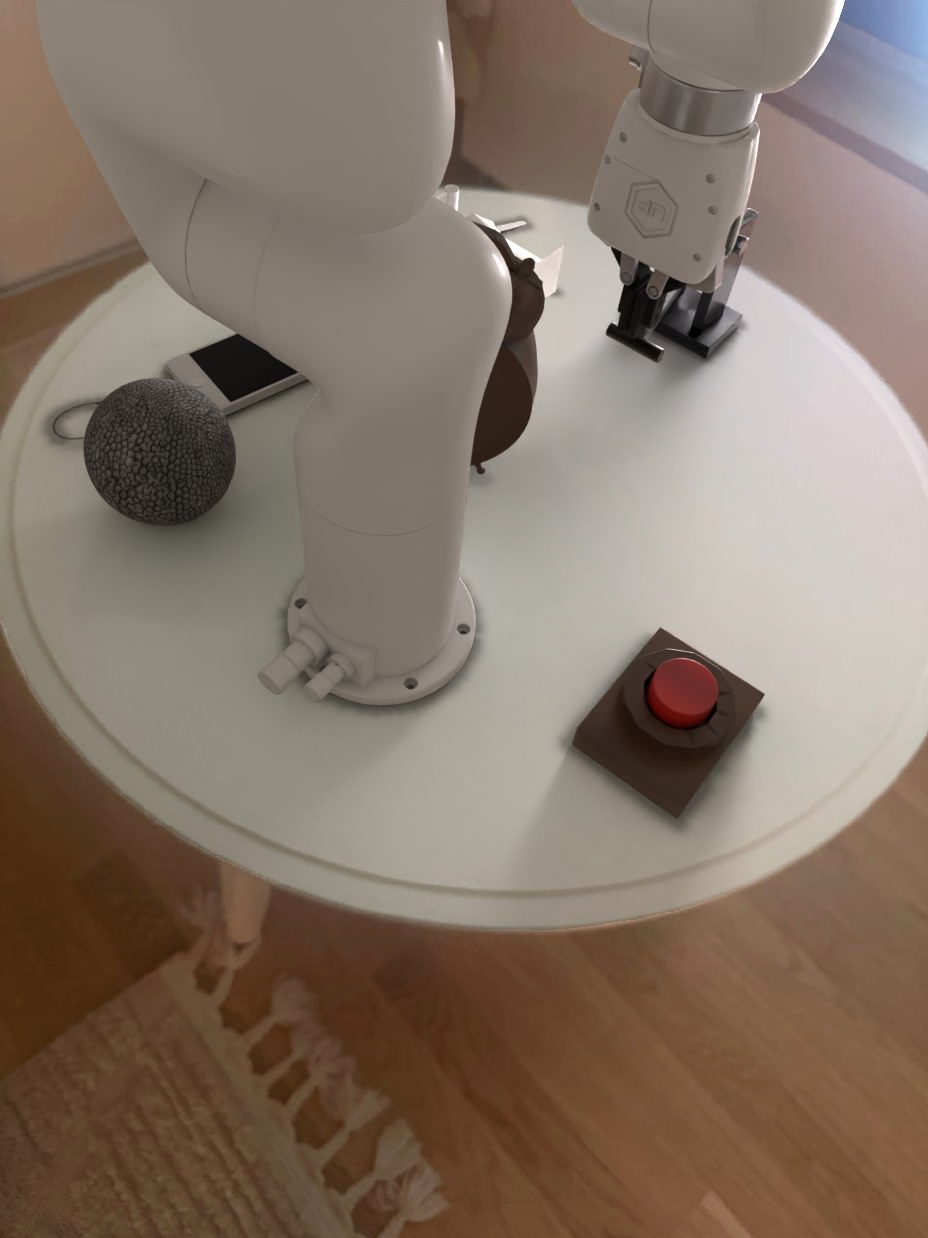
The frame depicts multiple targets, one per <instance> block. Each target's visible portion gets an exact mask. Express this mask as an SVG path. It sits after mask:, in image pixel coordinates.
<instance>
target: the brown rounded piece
mask: <svg viewBox="0 0 928 1238" xmlns="http://www.w3.org/2000/svg"><path fill="white" fill-rule="evenodd" d="M472 222H473V221H472ZM473 223H474V224H475V225H476V226H478V227H479V228H480V229H481V230H482V231H483V232H484V233H485V234H486V235H487V236H488V237H489V238H490V240H491V241H492V242H493V243H494V244H495V246H496V247H497V249H498V250H499V251H500V253H501V255H502V257H503V259H504V261H505V263H506V265H507V268H508V271H509V274H510V278H511V284H512V304H511V309H510V315H509V320H508V324H507V327H506V331H505V334H504V338H503V341H502V343H501V346H500V349H499V351H498V354H497V357H496V360H495V362H494V365H493V368H492V371H491V373H490V376H489V379H488V382H487V385H486V388H485V391H484V395H483V398H482V402H481V406H480V409H479V414H478V419H477V424H476V429H475V434H474V441H473V448H472V455H471V463H470V467H472V466H474V467H475V468H476V473H477V474H478V475H479V476H480V475H484V474H485V473H486V468H485V467H483V466H482V463H485V462H488V461H490V460H492V459H494V458H496V457H498V456H500V455H501V454H503V453H504V452H505V451H508V449H510V448H511V447H512V446H514V444H515V443H516V442H517V441H518V440H519V439H520V437H521V436H522V435H523V434H524V432H525V430H526V428H527V426H528V424H529V422H530V419H531V416H532V412H533V405H534V401H535V397H536V393H537V388H538V376H539V370H538V369H539V367H538V351H537V340H536V335H535V331H534V329H535V328H536V326H537V324H538V323H539V322H540V319H541V318H542V316H543V313H544V310H545V304H546V303H545V302H546V299H545V295H544V290H543V286H542V285H543V281H541V280H540V279H539V277H538V275H537V274H536V273H535V272H534V268H535V261H534V259H533V258H530V257H529V258H525V259H524V260H521V259H520V258H518V257H516V256H515V255H514V253H513V252H512V250H511V248H510V246H509V244H508V242H507V241H506V239H507V238H506V237H505V236H504V235H503V234H501V232H500V233H499V232H498V231H497V230H494V229H492V228H489V227H487V226H484V225H481V224H479V223H476V222H473ZM505 238H506V239H505Z"/></svg>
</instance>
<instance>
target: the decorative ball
mask: <svg viewBox="0 0 928 1238" xmlns="http://www.w3.org/2000/svg"><path fill="white" fill-rule="evenodd" d="M83 437H84V438H83V460H84V465H85V469H86V472H87V475H88V477H89V480H90V482H91V484H92V486H93V487H94V489H95V491H96V492H97V493H98V495H99V496H100V497H101V498H102V500H104V502H105V503H106V504H107V505H109V506H110V508H112V509H114V511H116V512H118V514H120V515H122V516H124V517H126V518H128V519H130V520H132V521H134V522H138V523H141V524H145V525H149V526H157V527H171V526H172V527H173V526H179V525H183V524H187V523H190V522H192V521H195V520H197V519H199V518H200V517H202V516H203V515H205V514H207V513H208V512H209V511H211V510H212V509H213V508H214V507H215V506H216V505H217V504H218V503H219V502H220V501H221V500H222V498H223V497H224V495H225V494H226V492H227V491H228V489H229V487H230V485H231V482H232V481H233V477H234V474H235V470H236V463H237V448H236V443H235V437H234V434H233V431H232V427H231V425H230V423H229V421H228V419H227V417H226V416H224V415H223V413H222V411H221V410H220V409H219V408H218V406H217V405H216V404H215V403H214V402H213V401H212V400H211V399H210V398H208V397H207V396H206V395H205V394H203V393H202V392H200V391H199V390H197V389H195V388H194V387H192V386H190V385H187V384H185V383H182V382H179V381H176V380H174V379H170V378H163V377H149V378H148V377H147V378H141V379H136V380H133V381H130V382H128V383H125V384H123V385H120V386H119V387H118V388H115V389H113V391H111V392H110V393H108V394H107V395H106V396H105V397H104V398H103V399H102V400H101V403H99V405H98V404H97V406H96V407H95V409H94V411H93V412H92V413H91V416H90V418H89V420H88V422H87V425H86V428H85V432H84V436H83Z"/></svg>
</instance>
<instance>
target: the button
mask: <svg viewBox="0 0 928 1238" xmlns="http://www.w3.org/2000/svg"><path fill="white" fill-rule="evenodd" d="M717 697H718V686H717V683H716V680H715V678H714V676H713V675H712V673H711V672H710V671H709V670H708V669H707V668H706V667H704V666H703V665H702V664H700V663H698V662H696V661H693V660H690V659H685V658H676V659H671V660H668V661H666V662H664V663H663V664H661V665H660V666H659V667H658V668H657V670H656V671H655V673H654V676H653V678H652V680H651V682H650V684H649V687H648V690H647V700H648V704H649V706H650V709H651V710H652V712H653V713H654V714H655V716H656V717H658V718H659V719H660V720H661V721H663V722H664V723H666V724H668V725H670V726H673V727H678V728H690V727H694V726H696V725H699V724H700V723H702V722H703V721H704V720H705V719H706V718H707V716H708V715H709V713H710V711H711V709H712V708H713V706H714V704H715V703H716V700H717Z"/></svg>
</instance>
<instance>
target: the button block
mask: <svg viewBox="0 0 928 1238" xmlns="http://www.w3.org/2000/svg"><path fill="white" fill-rule="evenodd" d="M676 658H685V659H690V660H693V661H696V662H698V663H700V664H702V665H703V666H704V667H706V668H707V669H708V670H709V671H710V672H711V673H712V675H713V676H714V678H715V680H716V683H717V686H718V697H717V700H716V703H715V704H714V706H713V708H712V709H711V711H710V713H709V715H708V716H707V718H706V719H705V720H704V721H703V722H702V723H700V724H699V725H696V726H694V727H690V728H678V727H673V726H670V725H668V724H666V723H664V722H663V721H661V720H660V719H659V718H658V717H656V716H655V714H654V713H653V712H652V710H651V709H650V706H649V704H648V700H647V690H648V687H649V684H650V682H651V680H652V678H653V676H654V673H655V671H656V670H657V668H658V667H659V666H660V665H661V664H663V663H664V662H666V661H668V660H671V659H676ZM765 695H766V694H765V692H762V691H761V690H760V689H758V688H757V687H755V686H753V685H752V684H750V683H748V682H747V681H746V680H744V679H743V678H741V677H740V676H738V675H737V674H735V673H733V672H731V671H730V670H729V669H728V668H726V667H724V666H723V665H721V664H720V663H718V662H716V661H715V660H713V659H712V658H710V657H709V656H707V655H705V654H704V653H702V652H701V651H699V650H698V649H696V648H695V647H694V646H691V645H690V644H688V643H687V642H685V641H684V640H682V639H681V638H679V637H677V636H675V635H674V634H673V633H671V632H670V631H668V630H667V629H665V628H663V627H662V626H660V627H659V628H658V629H657V630H656V631H655V633H654V634H652V636H651V637H650V639H649V640H648V641H647V642H646V644H645V645H644V646H643V648H642V649H641V650H640V651H639V652H638V653H637V655H636V656H635V657H634V658H633V660H631V662H630V663H629V664H628V665H627V667H626V668H625V669H624V670H623V672H621V674H620V675H619V676H618V678H617V679H616V680H615V681H614V683H613V684H612V685H611V686H610V687H609V689H608V690H607V691H606V692H605V694H604V695H603V696H602V697H601V699H600V700H598V702H597V703H596V704H595V706H594V707H593V708H592V709H591V710H590V712H589V713H588V714H587V715H586V716H585V718H584V719H583V720H582V722H581V723H580V724H579V725H578V726H577V727H576V730H575V733H574V736H573V739H572V742H571V745H572V746H574V747H575V748H577V749H578V750H579V751H581V752H582V753H583V754H585V755H586V756H588V757H589V758H590V759H592V760H594V761H595V762H596V763H597V764H599V765H600V766H602V767H603V768H605V769H606V770H607V771H608V772H611V774H613V775H615V776H616V777H617V778H619V779H620V780H621V781H623V782H625V783H626V784H627V785H629V786H630V787H632V788H633V789H634V790H636V791H638V793H640V794H641V795H642V796H645V798H647V799H649V800H650V801H651V802H653V803H654V804H655V805H657V806H658V807H659V808H661V809H662V810H664V811H665V812H667V813H668V814H670V815H671V816H672V817H674V818H675V819H677V820H679V819H680V817H681V816H682V815H683V813H684V812H685V810H686V809H687V808H688V806H689V804H690V803H691V802H692V801H693V799H694V798H695V796H696V794H697V793H698V792H699V790H700V789H701V787H702V786H703V785H704V784H705V782H706V780H707V779H708V778H709V776H710V775H711V773H712V772H713V771H714V769H715V768H716V766H717V765H718V764H719V762H720V761H721V759H722V757H724V755H725V754H726V752H727V751H728V749H729V748H730V746H731V745H732V743H733V742H734V741H735V739H736V738H737V736H738V735H739V734H740V732H741V731H742V729H743V728H744V727H745V725H746V724H747V722H748V721H749V719H750V718H751V717H752V715H753V714H754V712H755V711H756V710H757V708H758V706H759V705H760V703H761V701H762V700H763V699H764V698H765Z"/></svg>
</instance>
